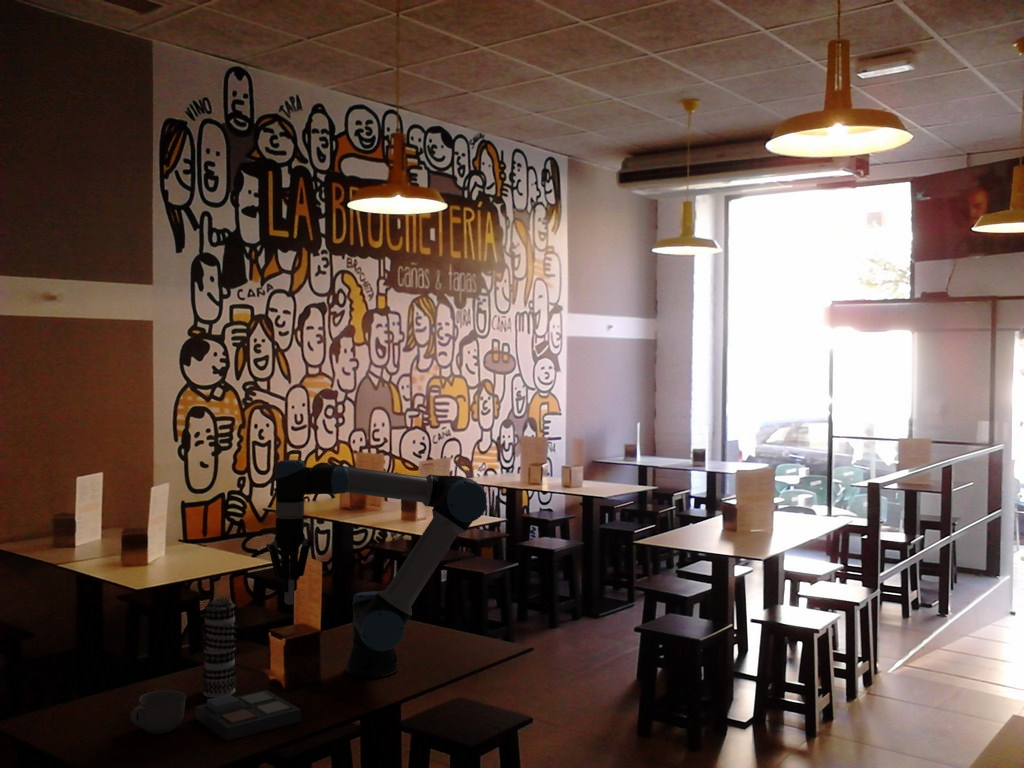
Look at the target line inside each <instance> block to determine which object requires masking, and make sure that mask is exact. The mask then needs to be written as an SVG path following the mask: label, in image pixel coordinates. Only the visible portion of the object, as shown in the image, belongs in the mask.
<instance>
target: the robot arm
mask: <svg viewBox="0 0 1024 768" xmlns="http://www.w3.org/2000/svg"><path fill="white" fill-rule="evenodd" d="M346 493H349V494H357V495H365V496H372V497H380V498H386V499H387V498H388V499H392V500H393V499H395V500H402V501H410V502H417V503H422V504H423V506H425V507H428V508H429V507H430V508H432V509H431V510H432V511H431V513H432V519H431V520H430V522H429V523H428V524H427V526H426V528H425V529H424V531H423V533H422V534H421V535H420V537H419V539H418V540H417V542H416V543H415V545H414V546H413V548H412V549H411V551H410V552H409V554H408V556H407V557H406V558H405V560H404V561H403V563H402V564H401V566H400V568H399V569H398V571H397V572H396V573H395V575H394V577H393V578H392V579H391V581H390V582H389V584H388V586H387V587H386V589H383V590H379V591H378V590H377V591H376V590H375V591H362V592H357V593H355V594H354V595H353V597H352V602H351V603H352V604H351V606H352V645H351V649H350V653H349V656H348V658H347V662H346V670H347V671H346V673H347V672H348V673H349V674H351V675H354V676H358V677H357V678H360V677H377V676H382V675H385V674H389V673H391V672H393V671H395V670H396V669H397V668H398V669H399V661H398V660H399V659H398V657H397V653H396V650H395V648H396V647H397V646H398V644H400V643H401V641H402V640H403V637H404V633H405V626H406V625H407V624H408V622H409V620H410V619H411V617H412V616H413V610H412V606H413V605H414V603H415V601H416V599H417V598H418V596H419V595H420V593H421V592H422V590H423V589H424V587H425V585H426V584H427V583H428V581H429V579H430V578H431V576H432V575H433V574H434V573H435V570H436V569H437V567H438V566H439V564H440V562H441V561H442V559H443V558H444V556H445V555H446V553H447V552H448V550H449V549H450V547H451V546H452V544H453V543H454V541H455V540H456V538H457V536H458V535H460V534H463V533H466V532H467V530H469V528H470V526H471V524H472V523H473V522H475V521H476V520H478V519H480V518H481V516H482V515H484V513H485V511H486V508H487V505H488V498H487V494H486V491H485V489H484V488H483V486H481V485H480V484H479V483H478V482H477V481H475V480H473V479H472V478H467V477H465V476H462V475H439V474H431V473H430V474H427V476H419V475H413V474H404V473H397V472H392V471H391V472H389V471H385V470H384V471H382V470H376V469H366V468H362V467H361V468H360V467H354V466H345V465H338V464H330V463H328V462H322V461H321V462H318V463H316V464H314V465H313V466H312V467H308V466H306V465H305V462H304V461H303V460H302V459H285V460H284V459H283V460H279V461H278V462H277V464H276V470H275V516H276V518H275V536H274V539H273V541H272V542H271V543H267V544H266V549H267V551H268V552H269V555H270V560H271V563H272V565H271V566H272V568H273V569H272V570H273V573H274V577H275V578H276V579H279V580H281V590H282V592H283V593H284V604H285V605H286V604H287V605H294V604H295V592H296V591H297V590H298V580H299V579H300V577H303V576H304V575H305V570H306V566H307V562H308V557H309V552H310V549H311V548H312V547H311V546H312V545H313V541H312V540H311V539H308V538H306V536H305V534H304V530H305V518H304V517H303V516H304V515H305V495H306V496H307V495H335V496H336V495H339V494H346ZM278 548H279V550H280V555H279V551H278ZM280 556H281V557H280ZM348 673H347V674H348ZM349 674H348V675H349ZM351 675H350V676H351ZM354 676H353V677H354Z"/></svg>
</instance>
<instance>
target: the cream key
mask: <svg viewBox="0 0 1024 768" xmlns="http://www.w3.org/2000/svg"><path fill="white" fill-rule="evenodd" d="M256 710H258V711H259V712H261V713H263V714H264V715H266V716H268V715H271V714H275V713H279V712H283V711H287V710H290V707H288V706H286V705H285V704H283V703H281V702H279V701H277V702H273V703H269V704H265V705H261V706H257V707H256Z"/></svg>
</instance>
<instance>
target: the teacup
mask: <svg viewBox="0 0 1024 768" xmlns="http://www.w3.org/2000/svg"><path fill="white" fill-rule="evenodd" d="M186 699H187V695H186V693H184V692H182V691H179V690H173V689H172V690H171V689H170V690H168V689H164V690H163V689H162V690H161V689H160V690H155V691H154V690H153V691H149V692H146V693H144V694H142V695H140V697H139V698H138V705H137V706H135V707H134V708H133V709H132V711H131V713H130V721H131V722H132V724H134V725H136V726H138V727H140V728H141V730H145V732H147V733H149V734H153V735H162V734H163V733H164V734H168V733H171V732H173V731H174V730H175V729H176V728H178V727H179V726H180V725H181V724H182V723H183V720H184V717H185V711H186V710H185V709H186ZM137 715H138V719H137ZM170 731H171V732H170ZM167 732H168V733H167ZM164 734H163V735H164Z"/></svg>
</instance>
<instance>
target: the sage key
mask: <svg viewBox="0 0 1024 768" xmlns="http://www.w3.org/2000/svg"><path fill="white" fill-rule="evenodd" d="M241 701H243V702H244V703H246V704H248V705H249V706H252V705H256V704H260V703H264V702H268V701H273V698H272V697H270V696H269V695H267V694H265V693H263V692H261V693H257V694H253V695H248V696H244V697H241Z"/></svg>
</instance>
